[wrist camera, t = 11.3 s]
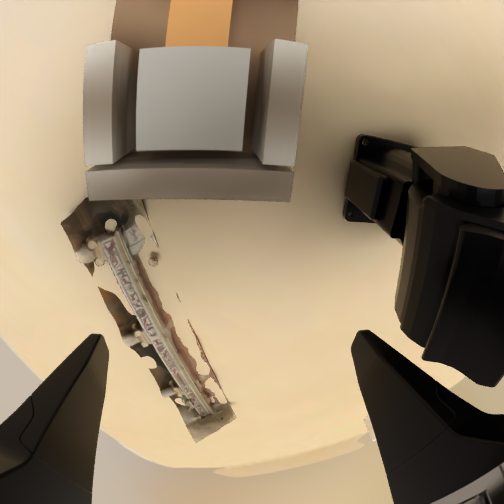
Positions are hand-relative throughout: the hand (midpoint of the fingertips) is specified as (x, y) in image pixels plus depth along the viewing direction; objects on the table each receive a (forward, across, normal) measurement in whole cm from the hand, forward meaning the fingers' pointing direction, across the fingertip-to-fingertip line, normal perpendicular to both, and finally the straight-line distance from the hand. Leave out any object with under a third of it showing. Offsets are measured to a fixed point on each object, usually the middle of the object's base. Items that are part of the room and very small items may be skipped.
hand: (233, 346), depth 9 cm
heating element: (+13, +5, +13) cm, 19 cm away
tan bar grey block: (+11, +2, -17) cm, 20 cm away
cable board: (+12, +2, -17) cm, 21 cm away
